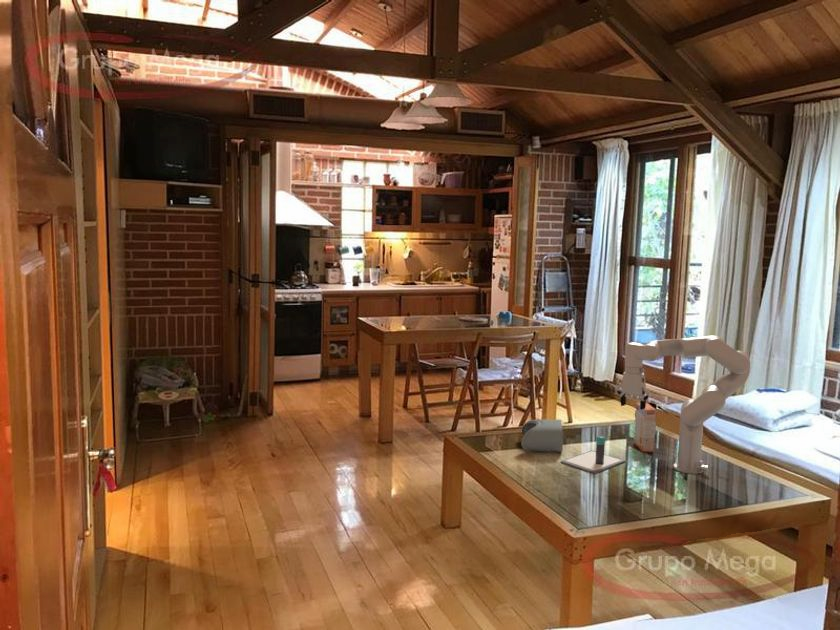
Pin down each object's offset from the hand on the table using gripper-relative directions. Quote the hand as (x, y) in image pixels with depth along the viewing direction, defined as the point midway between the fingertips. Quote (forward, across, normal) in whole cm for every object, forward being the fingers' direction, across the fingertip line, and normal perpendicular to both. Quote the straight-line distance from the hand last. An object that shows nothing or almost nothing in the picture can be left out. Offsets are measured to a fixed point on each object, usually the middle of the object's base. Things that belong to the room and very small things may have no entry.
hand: (632, 407), depth 313 cm
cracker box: (+26, +7, -23) cm, 35 cm away
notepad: (+25, +11, +15) cm, 31 cm away
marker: (+24, +7, +16) cm, 30 cm away
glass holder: (+26, +19, -45) cm, 55 cm away
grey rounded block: (+24, +39, +16) cm, 49 cm away
